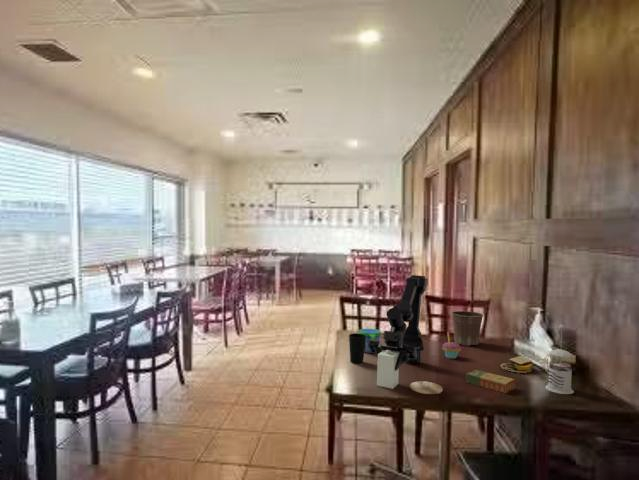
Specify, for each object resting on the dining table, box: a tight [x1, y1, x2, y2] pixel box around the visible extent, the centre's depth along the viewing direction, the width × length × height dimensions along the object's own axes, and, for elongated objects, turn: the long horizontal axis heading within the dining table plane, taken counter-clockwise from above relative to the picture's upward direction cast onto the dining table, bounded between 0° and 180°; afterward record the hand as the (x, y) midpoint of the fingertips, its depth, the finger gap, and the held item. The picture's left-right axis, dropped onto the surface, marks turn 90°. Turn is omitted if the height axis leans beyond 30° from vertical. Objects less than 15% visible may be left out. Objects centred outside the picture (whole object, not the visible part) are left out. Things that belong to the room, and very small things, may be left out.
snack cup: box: [358, 328, 382, 354], centre depth 219 cm, size 16×10×10 cm
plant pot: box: [451, 310, 484, 347], centre depth 240 cm, size 16×16×16 cm
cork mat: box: [409, 380, 444, 395], centre depth 170 cm, size 12×12×1 cm
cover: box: [376, 350, 400, 390], centre depth 173 cm, size 6×6×13 cm
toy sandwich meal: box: [500, 355, 533, 374], centre depth 197 cm, size 12×14×5 cm
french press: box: [543, 324, 575, 395], centre depth 173 cm, size 10×12×25 cm
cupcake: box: [441, 331, 462, 359], centre depth 213 cm, size 9×8×12 cm
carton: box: [465, 369, 516, 394], centre depth 175 cm, size 8×16×4 cm, turn 44°
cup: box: [348, 332, 366, 365], centre depth 201 cm, size 8×8×12 cm
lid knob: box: [423, 381, 430, 388], centre depth 170 cm, size 3×3×2 cm
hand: (386, 368), depth 171 cm, fingers closed on cover, 6 cm apart
